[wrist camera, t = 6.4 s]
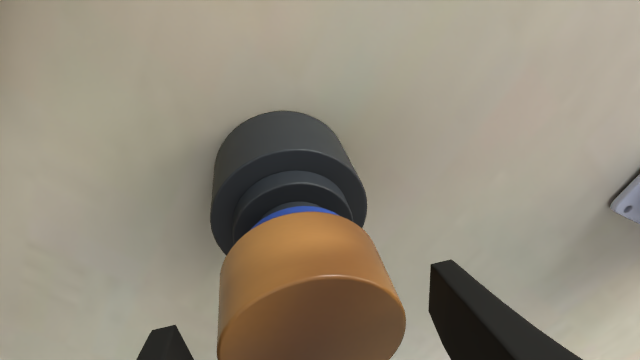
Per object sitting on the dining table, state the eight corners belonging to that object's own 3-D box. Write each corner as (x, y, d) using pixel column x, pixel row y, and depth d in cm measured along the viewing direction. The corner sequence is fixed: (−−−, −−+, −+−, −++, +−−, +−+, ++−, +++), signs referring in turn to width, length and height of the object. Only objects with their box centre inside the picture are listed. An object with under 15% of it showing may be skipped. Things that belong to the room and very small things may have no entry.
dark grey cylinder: (368, 140, 18) (428, 228, 12) (310, 236, 20) (338, 346, 15) (245, 87, 15) (251, 168, 10) (195, 204, 18) (178, 320, 12)
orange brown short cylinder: (405, 235, 12) (443, 300, 10) (331, 336, 14) (349, 407, 12) (258, 188, 10) (266, 255, 8) (197, 312, 12) (188, 393, 10)
